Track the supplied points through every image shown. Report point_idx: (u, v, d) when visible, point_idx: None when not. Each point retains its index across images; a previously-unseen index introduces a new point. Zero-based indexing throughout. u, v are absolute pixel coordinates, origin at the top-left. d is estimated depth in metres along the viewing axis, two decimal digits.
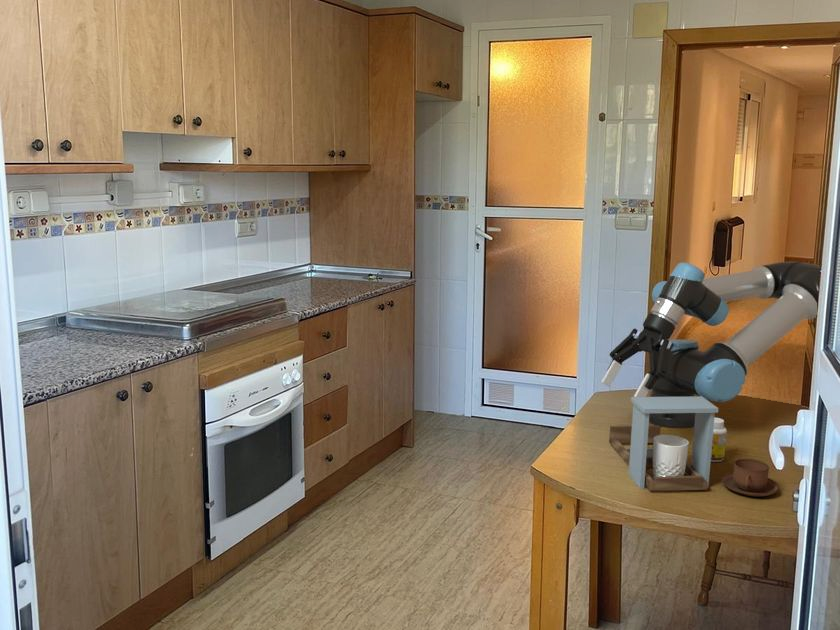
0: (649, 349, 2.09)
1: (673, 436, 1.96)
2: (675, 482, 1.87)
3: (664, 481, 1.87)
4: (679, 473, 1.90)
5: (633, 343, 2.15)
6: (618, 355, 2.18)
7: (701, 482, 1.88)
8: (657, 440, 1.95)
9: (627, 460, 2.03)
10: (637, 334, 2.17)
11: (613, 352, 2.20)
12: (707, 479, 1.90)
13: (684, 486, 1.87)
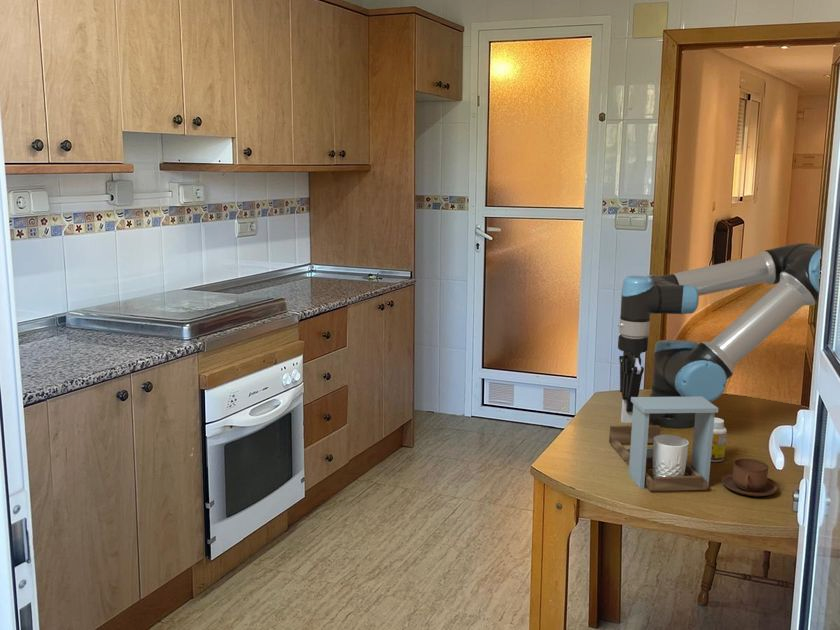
0: (625, 372, 2.19)
1: (673, 436, 1.95)
2: (675, 482, 1.87)
3: (664, 481, 1.87)
4: (679, 473, 1.90)
5: (622, 369, 2.21)
6: (623, 389, 2.22)
7: (701, 482, 1.88)
8: (657, 440, 1.95)
9: (627, 460, 2.03)
10: None
11: (621, 387, 2.24)
12: (707, 479, 1.90)
13: (684, 486, 1.87)
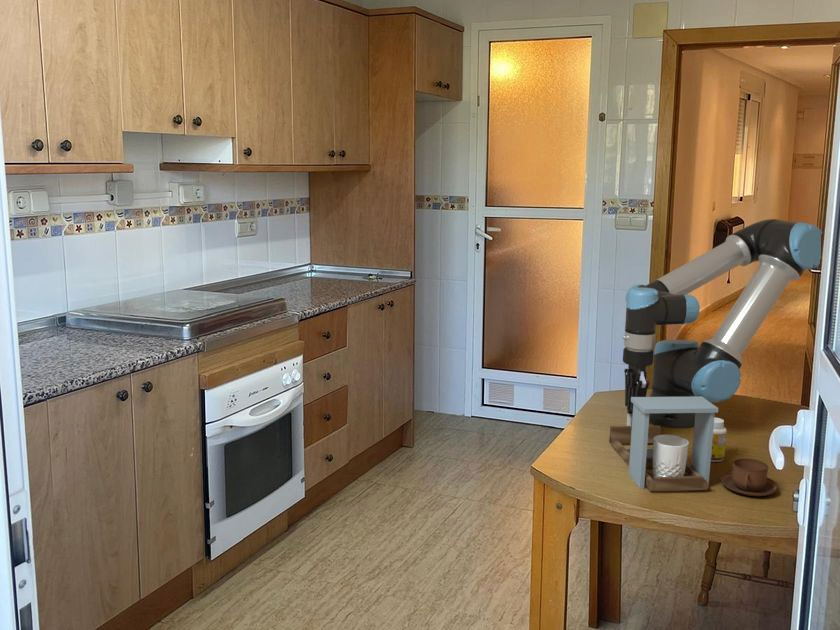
0: (630, 385, 2.14)
1: (673, 436, 1.96)
2: (675, 482, 1.87)
3: (664, 481, 1.87)
4: (679, 473, 1.90)
5: (627, 382, 2.17)
6: (628, 403, 2.18)
7: (701, 482, 1.87)
8: (657, 440, 1.95)
9: (627, 460, 2.03)
10: None
11: (626, 401, 2.20)
12: (707, 479, 1.90)
13: (684, 486, 1.87)
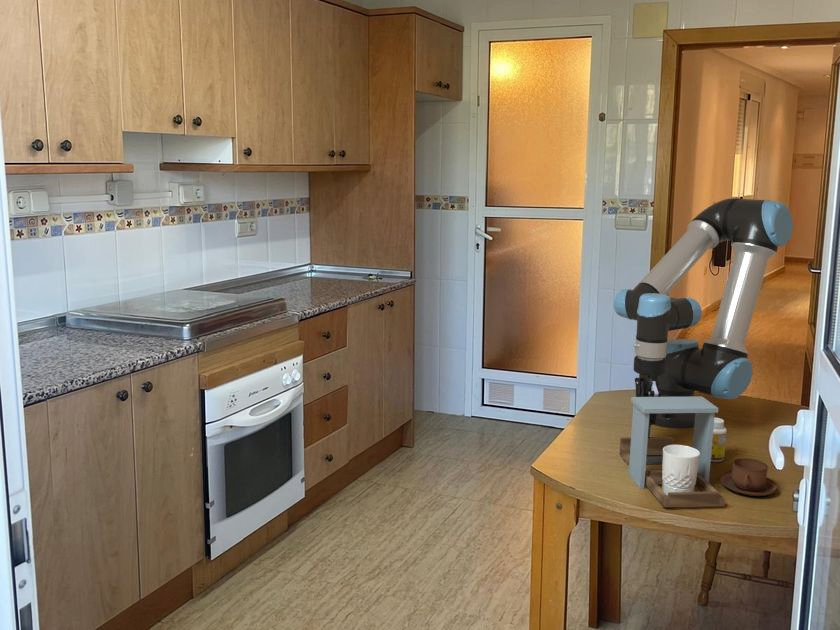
0: (642, 395, 2.06)
1: (684, 446, 1.89)
2: (690, 498, 1.79)
3: (679, 497, 1.78)
4: (689, 485, 1.84)
5: (638, 392, 2.08)
6: None
7: (717, 498, 1.79)
8: (667, 450, 1.89)
9: None
10: None
11: None
12: (707, 479, 1.90)
13: (700, 502, 1.79)
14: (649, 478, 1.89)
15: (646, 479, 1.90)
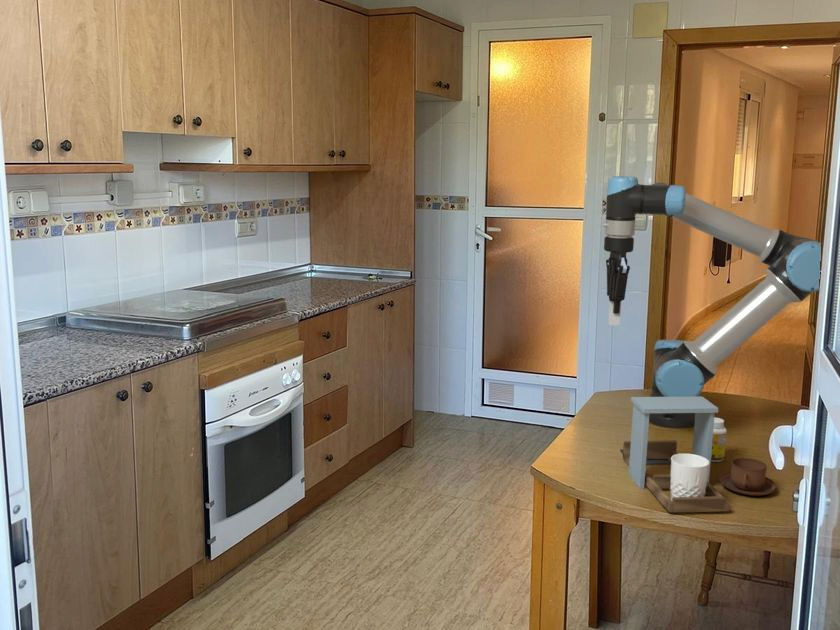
0: (612, 273, 2.19)
1: (694, 455, 1.83)
2: (695, 503, 1.76)
3: (683, 502, 1.76)
4: (698, 495, 1.78)
5: (609, 271, 2.21)
6: (610, 291, 2.22)
7: (723, 503, 1.77)
8: (676, 459, 1.83)
9: None
10: None
11: (607, 290, 2.24)
12: (707, 479, 1.90)
13: (705, 507, 1.76)
14: (653, 482, 1.87)
15: (650, 483, 1.87)
